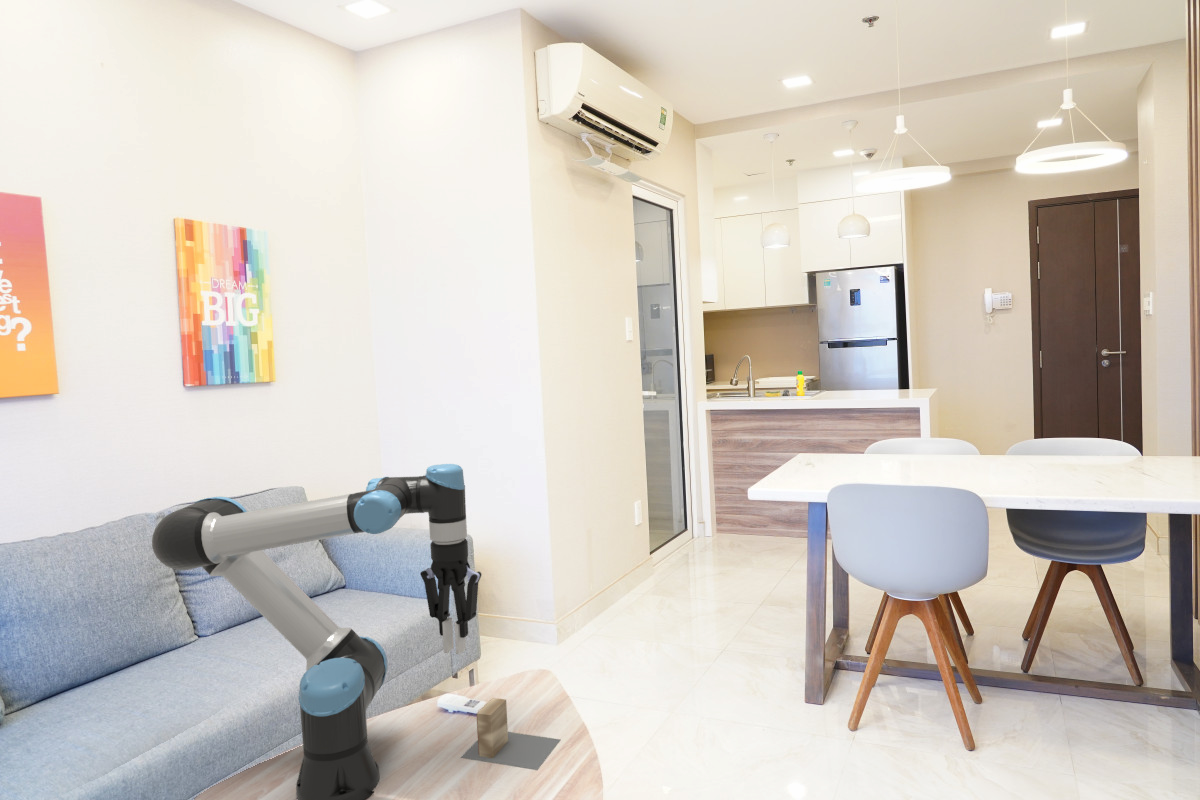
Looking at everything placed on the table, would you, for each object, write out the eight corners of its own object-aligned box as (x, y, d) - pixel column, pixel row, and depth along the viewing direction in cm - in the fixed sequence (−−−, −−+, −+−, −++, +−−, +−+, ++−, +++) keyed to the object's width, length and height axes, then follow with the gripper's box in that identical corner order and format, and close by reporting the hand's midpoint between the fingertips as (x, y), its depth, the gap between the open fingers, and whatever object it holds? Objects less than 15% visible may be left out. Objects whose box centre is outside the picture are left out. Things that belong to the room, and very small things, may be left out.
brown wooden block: (478, 755, 157) (475, 713, 156) (494, 738, 163) (492, 697, 163) (492, 758, 156) (490, 715, 155) (508, 741, 162) (506, 699, 162)
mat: (460, 760, 156) (460, 757, 156) (488, 731, 168) (488, 728, 168) (537, 772, 151) (537, 770, 151) (560, 742, 162) (560, 739, 162)
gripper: (490, 537, 160) (496, 647, 162) (426, 533, 165) (432, 641, 167) (472, 546, 153) (478, 662, 155) (406, 542, 158) (413, 654, 160)
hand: (454, 650), depth 161 cm, fingers open, 2 cm apart
